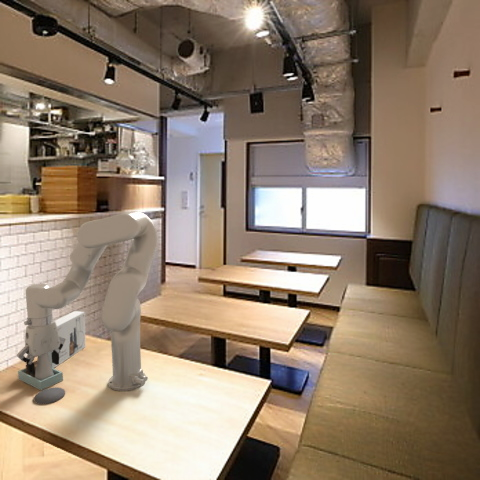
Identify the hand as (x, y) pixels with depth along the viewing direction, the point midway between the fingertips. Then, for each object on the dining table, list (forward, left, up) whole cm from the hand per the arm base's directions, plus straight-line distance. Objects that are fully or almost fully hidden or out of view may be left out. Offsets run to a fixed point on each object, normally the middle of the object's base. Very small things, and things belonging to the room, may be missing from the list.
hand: (43, 368), depth 131 cm
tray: (+2, 0, -5) cm, 6 cm away
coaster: (-11, +4, -5) cm, 12 cm away
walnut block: (+6, 0, -5) cm, 8 cm away
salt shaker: (0, 0, -5) cm, 5 cm away
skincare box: (+12, -16, -5) cm, 20 cm away
